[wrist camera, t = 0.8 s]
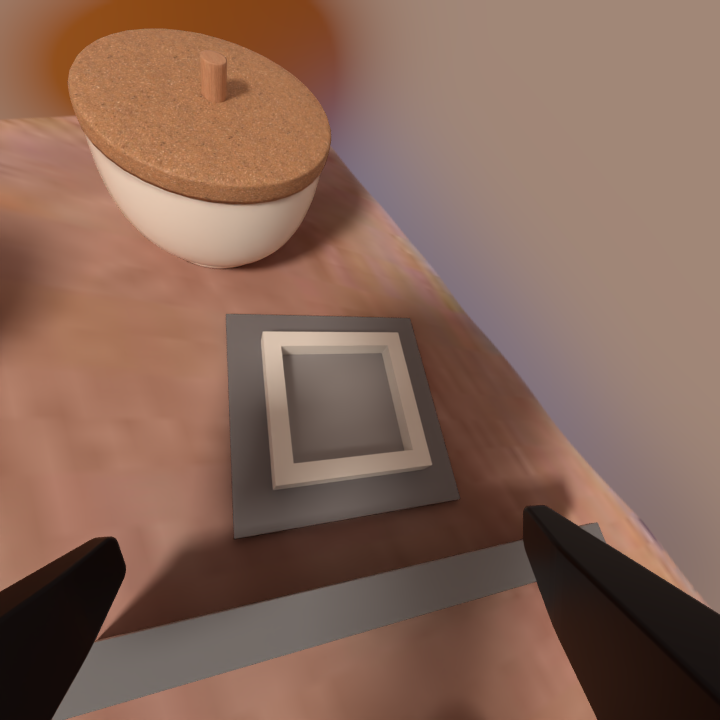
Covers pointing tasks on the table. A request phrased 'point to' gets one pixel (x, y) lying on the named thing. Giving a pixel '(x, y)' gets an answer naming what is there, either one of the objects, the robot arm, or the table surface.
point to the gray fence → (287, 625)
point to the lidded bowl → (200, 142)
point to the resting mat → (329, 421)
